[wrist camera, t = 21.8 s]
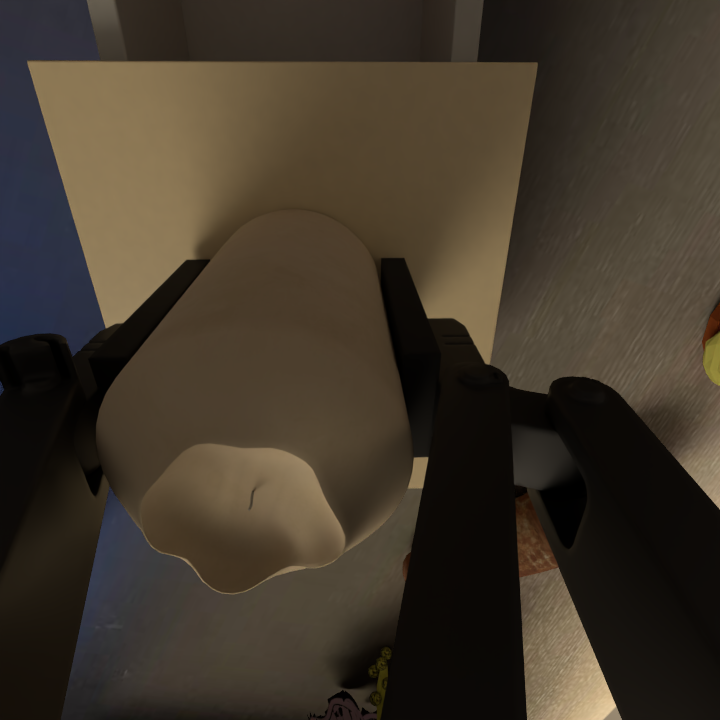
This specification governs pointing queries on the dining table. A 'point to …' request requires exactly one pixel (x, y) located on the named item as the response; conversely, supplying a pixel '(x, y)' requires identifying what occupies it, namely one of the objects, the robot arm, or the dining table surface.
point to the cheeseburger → (712, 347)
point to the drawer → (287, 30)
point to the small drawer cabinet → (293, 167)
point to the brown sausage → (525, 541)
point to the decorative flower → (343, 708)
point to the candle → (263, 408)
